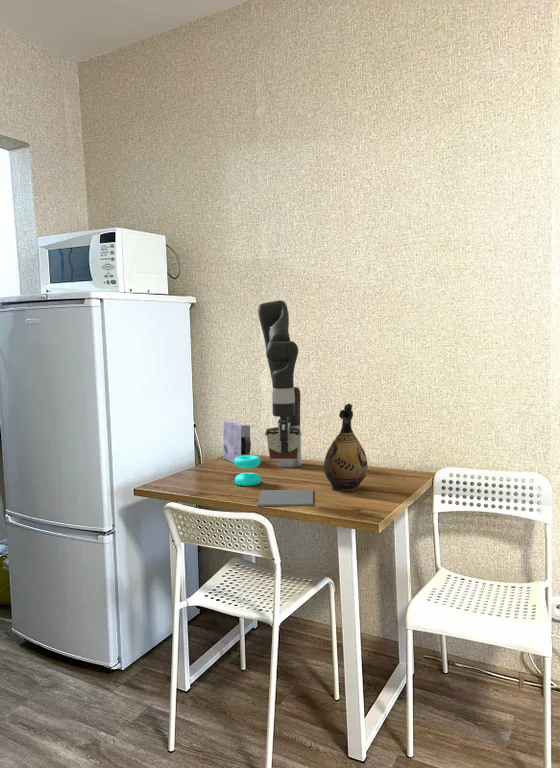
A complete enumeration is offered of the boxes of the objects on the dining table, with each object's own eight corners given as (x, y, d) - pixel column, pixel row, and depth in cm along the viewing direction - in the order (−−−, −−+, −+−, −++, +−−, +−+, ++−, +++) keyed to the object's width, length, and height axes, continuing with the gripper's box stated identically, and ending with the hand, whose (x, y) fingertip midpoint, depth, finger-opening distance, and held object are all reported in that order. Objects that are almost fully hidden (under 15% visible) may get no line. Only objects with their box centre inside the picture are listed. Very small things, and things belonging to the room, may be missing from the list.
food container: (304, 455, 206) (303, 426, 205) (302, 459, 200) (301, 429, 199) (269, 455, 209) (268, 426, 208) (265, 459, 203) (264, 429, 202)
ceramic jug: (367, 494, 207) (365, 407, 205) (322, 493, 210) (320, 407, 207) (369, 482, 224) (367, 401, 221) (327, 481, 227) (325, 401, 224)
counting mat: (261, 492, 214) (261, 490, 214) (312, 491, 213) (312, 489, 213) (257, 506, 196) (257, 504, 196) (313, 505, 195) (313, 503, 195)
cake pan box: (252, 465, 260) (251, 424, 258) (241, 466, 257) (240, 425, 256) (232, 458, 276) (231, 419, 275) (222, 459, 274) (221, 420, 272)
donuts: (238, 454, 233) (263, 454, 230) (239, 480, 233) (264, 480, 231) (230, 459, 223) (257, 460, 221) (231, 486, 224) (258, 487, 222)
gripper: (294, 403, 195) (295, 455, 196) (295, 398, 209) (296, 447, 211) (271, 404, 195) (272, 456, 197) (273, 399, 210) (274, 447, 211)
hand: (284, 451), depth 204 cm, fingers closed on food container, 5 cm apart
